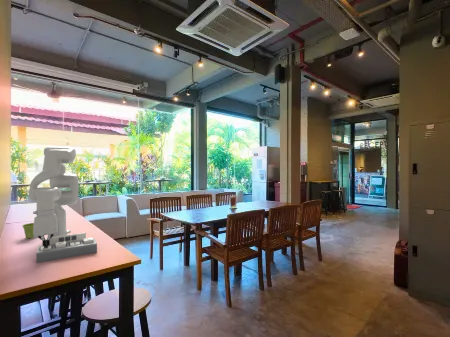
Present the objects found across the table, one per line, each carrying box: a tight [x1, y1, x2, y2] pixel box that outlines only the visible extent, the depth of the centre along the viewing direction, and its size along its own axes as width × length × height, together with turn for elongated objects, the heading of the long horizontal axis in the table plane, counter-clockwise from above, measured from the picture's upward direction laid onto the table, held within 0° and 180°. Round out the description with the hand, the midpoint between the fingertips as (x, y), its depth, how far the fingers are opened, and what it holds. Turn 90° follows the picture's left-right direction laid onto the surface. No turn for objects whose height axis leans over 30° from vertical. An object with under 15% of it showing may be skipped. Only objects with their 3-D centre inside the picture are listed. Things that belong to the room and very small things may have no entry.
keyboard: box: [35, 232, 98, 264], centre depth 136 cm, size 27×12×9 cm, turn 124°
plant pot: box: [22, 222, 34, 240], centre depth 166 cm, size 9×9×9 cm
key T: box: [83, 237, 94, 244], centre depth 141 cm, size 5×5×3 cm
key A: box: [40, 246, 52, 251], centre depth 131 cm, size 5×5×3 cm
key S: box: [56, 241, 66, 248], centre depth 134 cm, size 5×5×3 cm
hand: (46, 247), depth 131 cm, fingers closed
